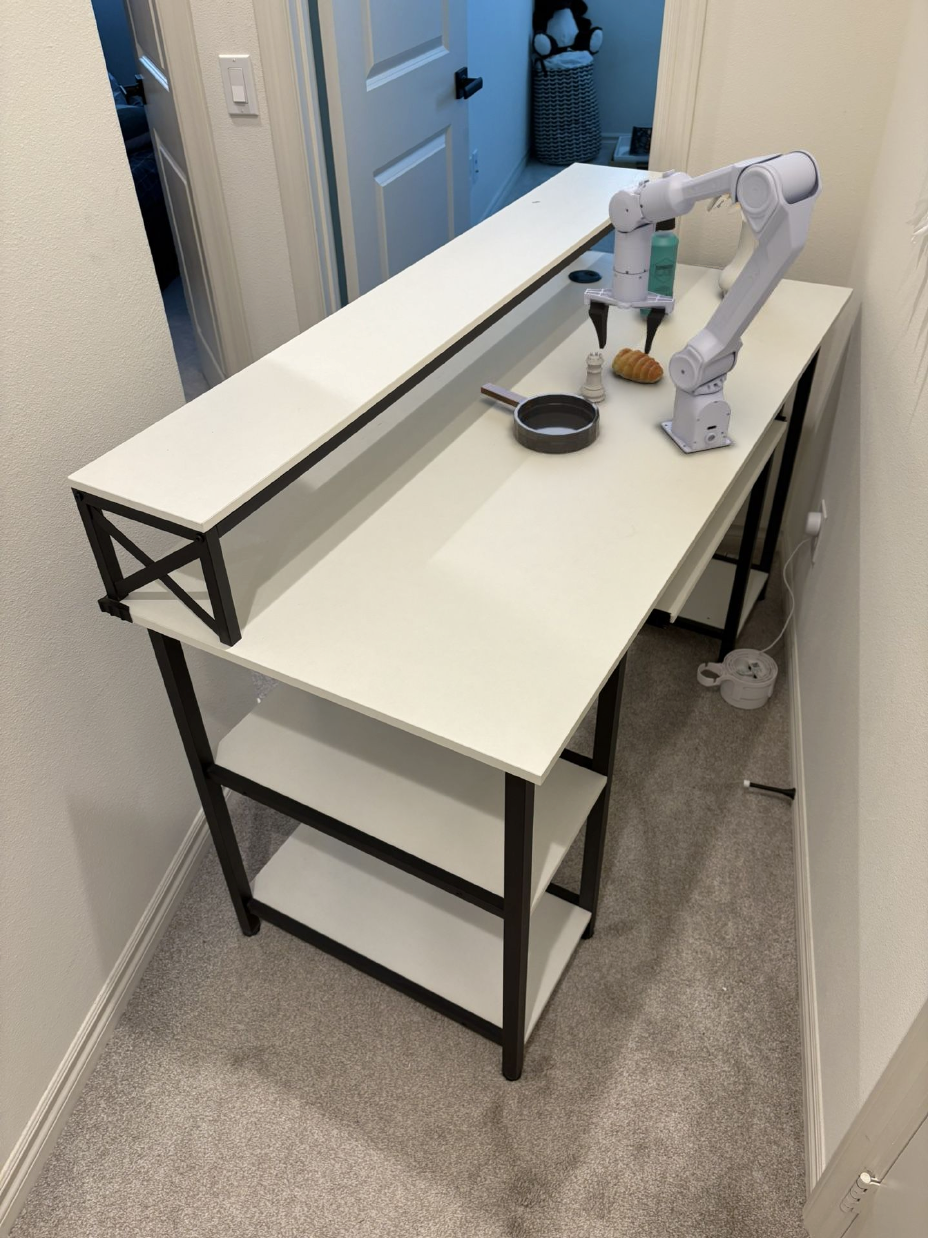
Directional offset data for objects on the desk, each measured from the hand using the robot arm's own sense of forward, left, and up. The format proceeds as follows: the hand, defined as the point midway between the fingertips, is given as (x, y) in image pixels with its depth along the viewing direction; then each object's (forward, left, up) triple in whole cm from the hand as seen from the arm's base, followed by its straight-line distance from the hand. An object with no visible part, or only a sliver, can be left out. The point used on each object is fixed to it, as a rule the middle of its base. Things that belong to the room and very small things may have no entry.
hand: (624, 348), depth 150 cm
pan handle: (+3, +20, -7) cm, 22 cm away
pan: (-7, +15, -9) cm, 19 cm away
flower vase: (+33, -39, -10) cm, 53 cm away
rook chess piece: (+2, +4, -10) cm, 11 cm away
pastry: (+8, -6, -10) cm, 14 cm away
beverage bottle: (+29, -19, -10) cm, 36 cm away
